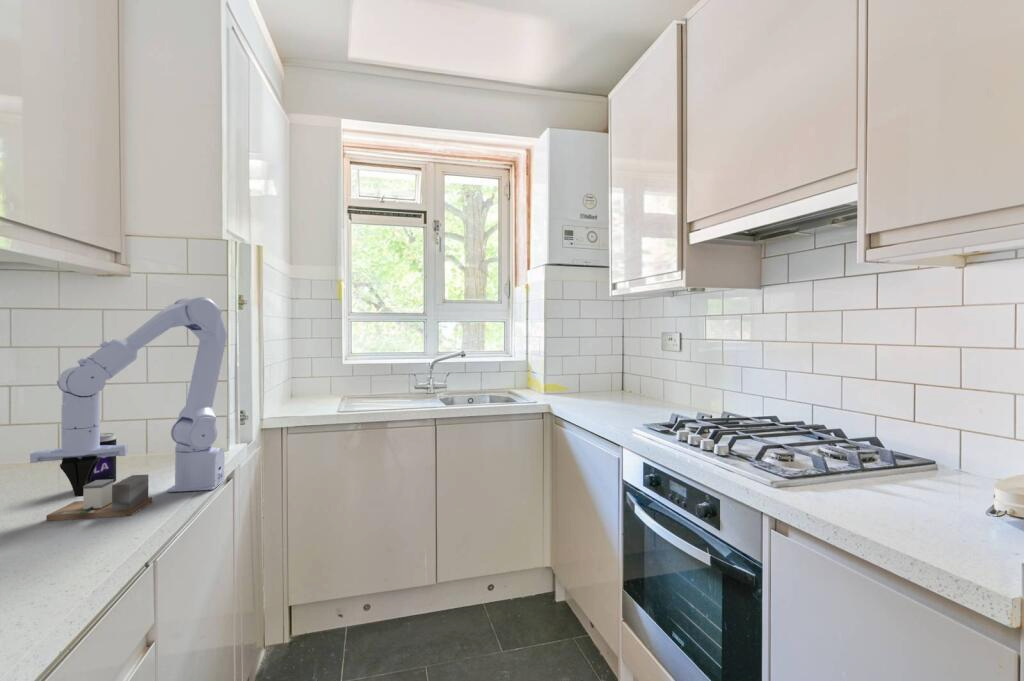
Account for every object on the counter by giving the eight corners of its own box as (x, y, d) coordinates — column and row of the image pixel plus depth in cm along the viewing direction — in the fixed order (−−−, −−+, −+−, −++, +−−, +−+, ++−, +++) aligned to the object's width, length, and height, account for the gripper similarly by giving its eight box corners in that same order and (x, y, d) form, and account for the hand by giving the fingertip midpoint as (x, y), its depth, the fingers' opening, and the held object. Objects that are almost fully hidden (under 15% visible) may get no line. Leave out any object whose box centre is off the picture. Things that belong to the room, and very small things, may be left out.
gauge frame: (152, 502, 102) (152, 473, 102) (131, 515, 94) (131, 485, 94) (74, 506, 99) (75, 477, 99) (46, 520, 91) (46, 489, 91)
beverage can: (79, 487, 111) (79, 435, 111) (109, 481, 116) (109, 431, 116) (91, 491, 108) (91, 438, 108) (120, 485, 113) (121, 434, 113)
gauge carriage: (113, 501, 99) (113, 479, 99) (95, 511, 93) (96, 487, 93) (96, 502, 98) (96, 480, 98) (77, 512, 93) (77, 488, 93)
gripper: (131, 421, 103) (131, 484, 103) (41, 425, 96) (41, 493, 96) (122, 426, 96) (121, 494, 96) (24, 432, 90) (24, 504, 90)
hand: (80, 495), depth 96 cm, fingers closed
